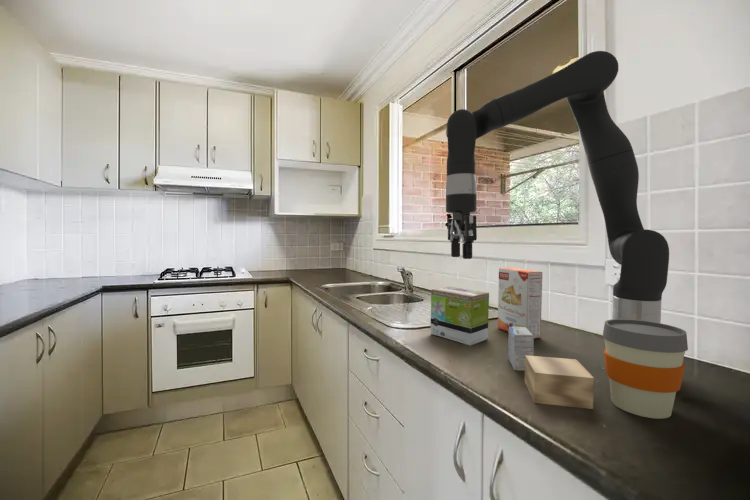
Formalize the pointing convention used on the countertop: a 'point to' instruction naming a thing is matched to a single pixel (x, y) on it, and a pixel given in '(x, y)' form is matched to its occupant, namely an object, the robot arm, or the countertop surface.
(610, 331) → the reusable coffee cup
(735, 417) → the countertop surface
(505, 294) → the cracker box
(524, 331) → the medicine box
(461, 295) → the tea box
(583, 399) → the oak block
